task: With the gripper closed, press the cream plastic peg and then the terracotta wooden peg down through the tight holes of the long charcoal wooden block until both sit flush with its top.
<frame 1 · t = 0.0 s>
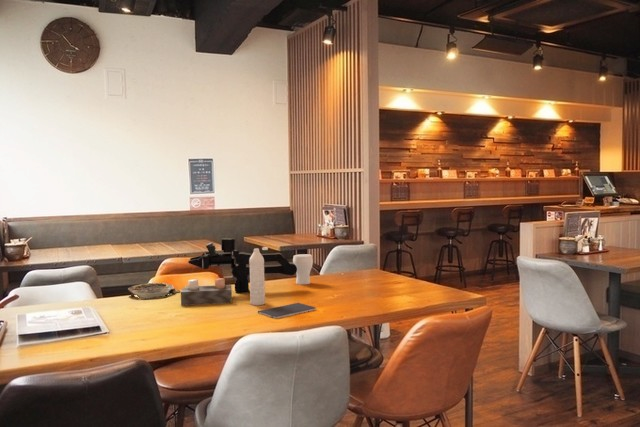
hand: (189, 260, 261), 17 cm above the table, tool horizontal, fingers open, 9 cm apart
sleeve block: (207, 301, 245), on the table
terracotta peg: (219, 285, 245), point 7 cm above the table, slide at 0.0 cm
cream peg: (193, 286, 244), point 7 cm above the table, slide at 0.0 cm
water bottle: (260, 304, 239), on the table
cup: (303, 283, 283), on the table
notebook: (287, 313, 223), on the table
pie: (151, 295, 264), on the table
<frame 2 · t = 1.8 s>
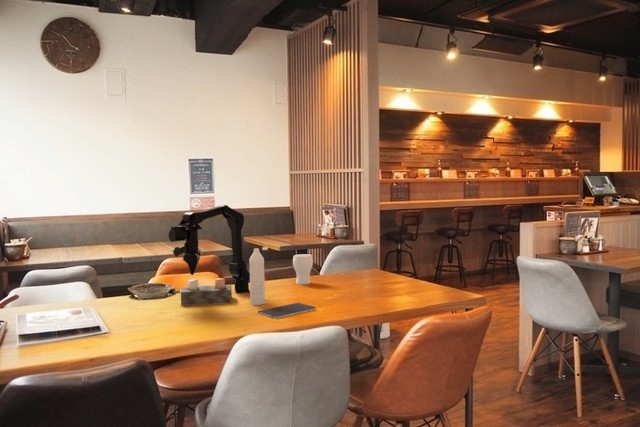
hand: (192, 273, 243), 13 cm above the table, tool pointing down, fingers open, 6 cm apart
nothing on the table moved.
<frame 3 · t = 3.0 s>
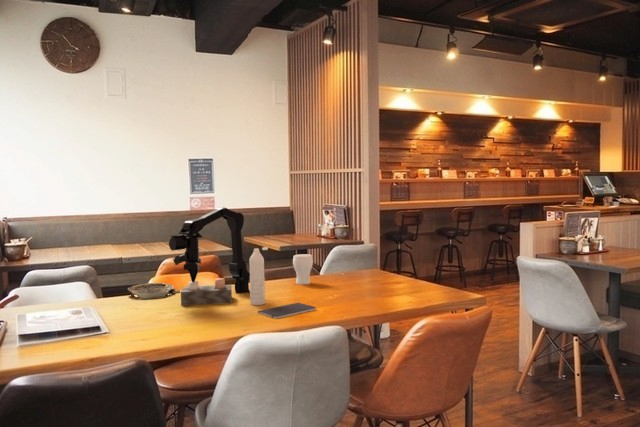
hand: (193, 282, 244), 9 cm above the table, tool pointing down, fingers closed, pressing on cream peg
cream peg: (193, 288, 244), point 6 cm above the table, slide at 0.8 cm, touching gripper
everything else where it was.
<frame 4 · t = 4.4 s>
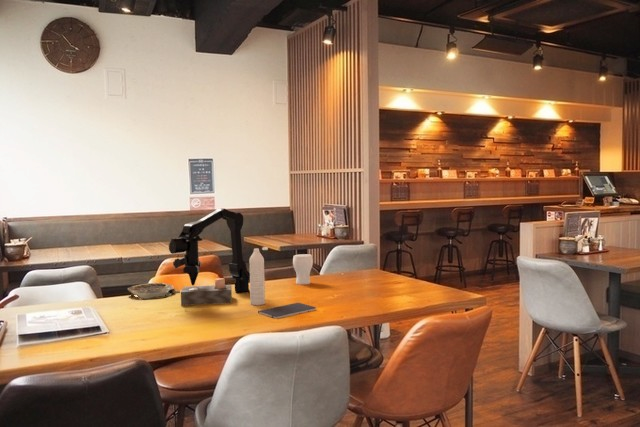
hand: (193, 285, 244), 8 cm above the table, tool pointing down, fingers closed
cream peg: (193, 295, 244), point 3 cm above the table, slide at 4.0 cm
everything else where it was.
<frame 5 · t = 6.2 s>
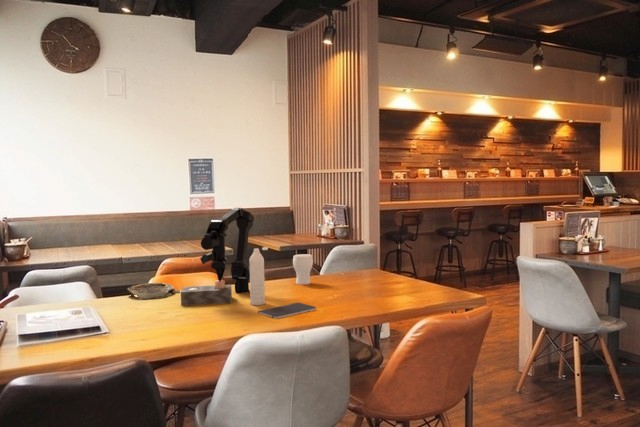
hand: (219, 280, 245), 9 cm above the table, tool pointing down, fingers closed, pressing on terracotta peg
terracotta peg: (220, 286, 246), point 6 cm above the table, slide at 0.7 cm, touching gripper
everything else where it was.
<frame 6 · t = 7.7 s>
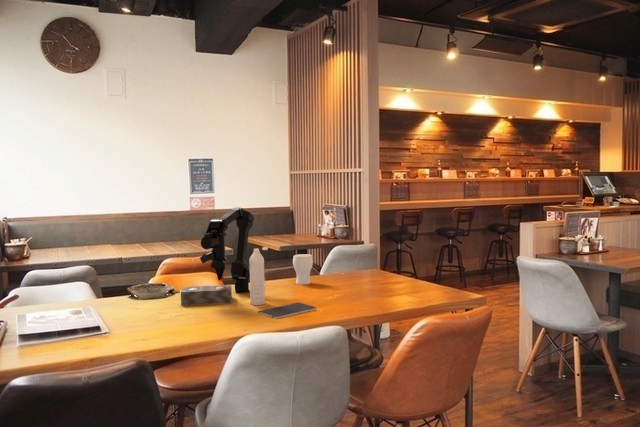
hand: (219, 280, 245), 9 cm above the table, tool pointing down, fingers closed
terracotta peg: (220, 294, 246), point 3 cm above the table, slide at 4.1 cm
everything else where it was.
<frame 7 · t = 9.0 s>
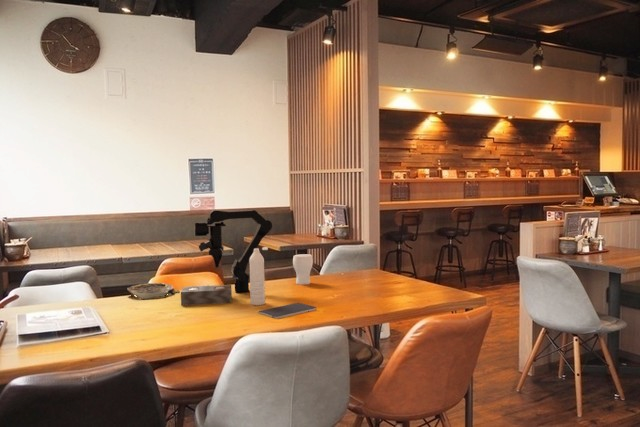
hand: (216, 267, 261), 13 cm above the table, tool pointing down, fingers closed
nothing on the table moved.
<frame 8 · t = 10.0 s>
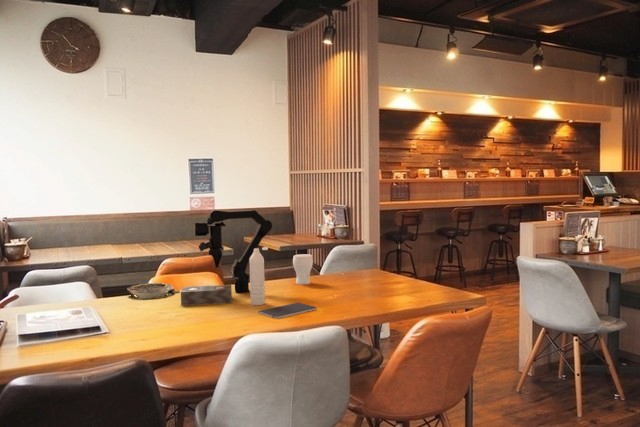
hand: (216, 267, 261), 13 cm above the table, tool pointing down, fingers closed
nothing on the table moved.
at the end: cream peg slide at 4.0 cm; terracotta peg slide at 4.1 cm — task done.
